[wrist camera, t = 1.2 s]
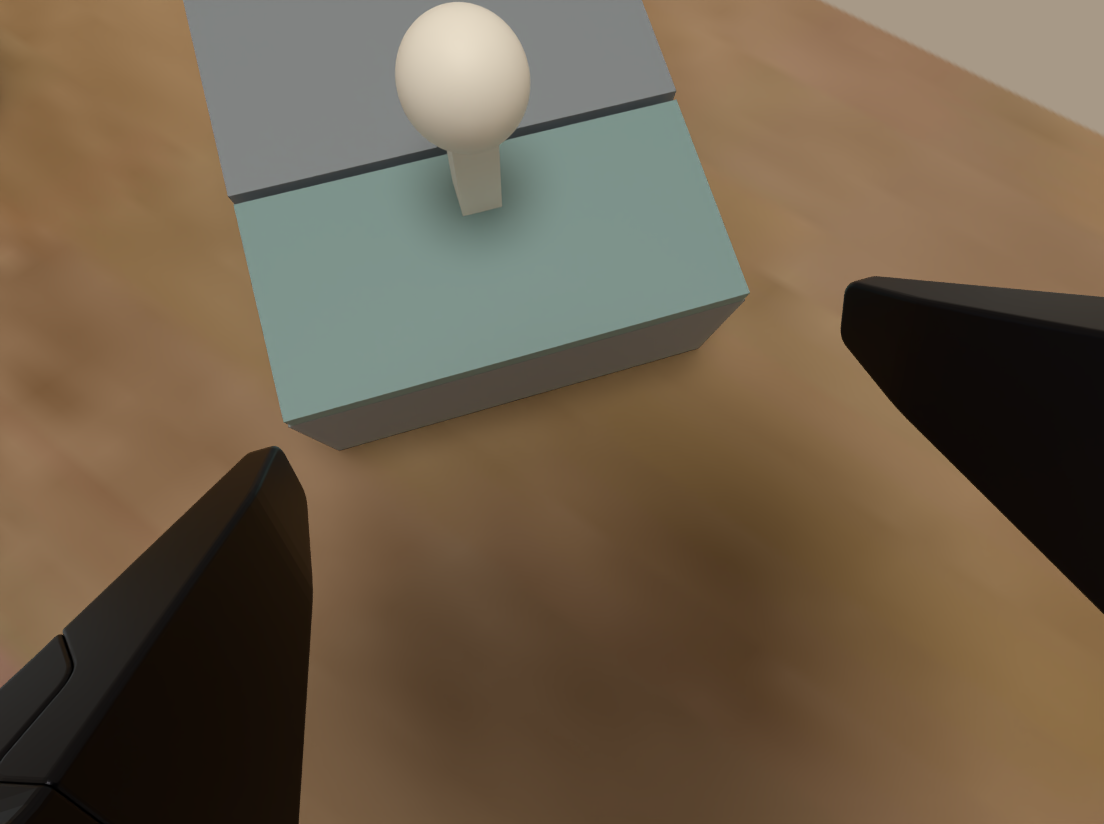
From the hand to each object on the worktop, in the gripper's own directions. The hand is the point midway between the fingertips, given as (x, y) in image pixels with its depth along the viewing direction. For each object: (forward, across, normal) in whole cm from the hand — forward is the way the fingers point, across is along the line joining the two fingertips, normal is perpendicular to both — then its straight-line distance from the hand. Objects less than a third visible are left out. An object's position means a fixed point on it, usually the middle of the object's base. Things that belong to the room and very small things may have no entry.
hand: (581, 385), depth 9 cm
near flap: (+10, 0, +1) cm, 10 cm away
